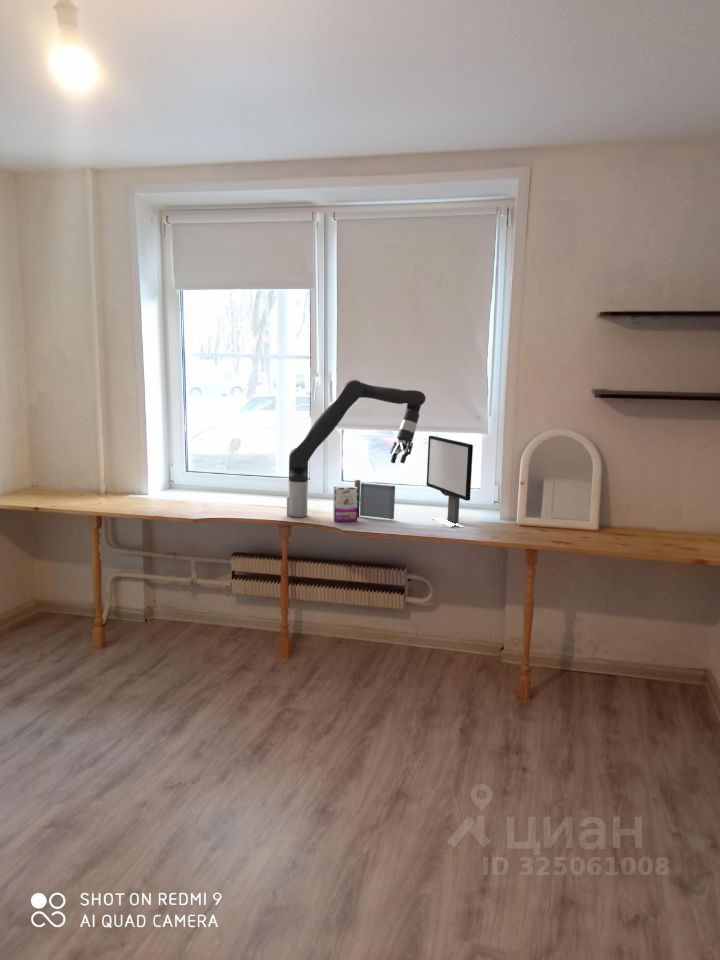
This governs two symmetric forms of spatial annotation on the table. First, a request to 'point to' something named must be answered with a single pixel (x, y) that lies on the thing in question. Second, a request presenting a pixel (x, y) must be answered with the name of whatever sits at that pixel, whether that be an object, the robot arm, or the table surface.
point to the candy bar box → (345, 504)
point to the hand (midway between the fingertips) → (397, 462)
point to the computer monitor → (450, 471)
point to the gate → (377, 500)
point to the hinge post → (357, 484)
